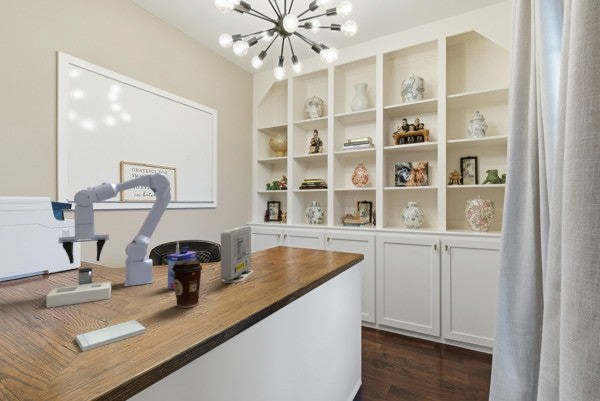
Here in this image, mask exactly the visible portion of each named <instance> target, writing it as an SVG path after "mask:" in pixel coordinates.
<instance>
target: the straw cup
mask: <svg viewBox="0 0 600 401" xmlns="http://www.w3.org/2000/svg"><path fill="white" fill-rule="evenodd" d="M189 249H190V246H185V247H182V248H181V250H179V253H176V252H175V253H172V254H168V255H167V288H168V289H171V290H172V289H173V290H175V287H174V271H173V270H171V269H172V268H173V266H174V264H175V263H176V262H178V261H186V260H190V261H197V260H198V258H197V257H198V253H197V252H196V251H189Z"/></svg>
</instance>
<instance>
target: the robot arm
mask: <svg viewBox="0 0 600 401" xmlns="http://www.w3.org/2000/svg"><path fill="white" fill-rule="evenodd" d="M136 187H145V188H147V187H148V188H149V189H150V190H152V192H153V194H154V196H155V198H156V200H155V201H154V203H153V205H152V206H151V209H150V210H149V212H148V214H147V215H146V218H145V219H144V221H143V223H142V225H141V227H140V228H139V231H138V233H137V234H136V235H135V236H134V238H133V239H132V241H131V242H129V243H128V244H127V245H126V247H125V254H126V256H127V258H126V259H125V280H124V286H123V287H131V286H140V285H146V284H152V283H154V282H153V280H154V272H153V259H152V258H147V253H148V247H149V245H150V242H151V240H150V239H151V238H152V236H153V234H154V232H155V231H156V229H157V226H158V224H159V223H160V221H161V218H162V217H163V215H164V213H165V211H166V209H167V207H168V206H169V203H170V201H171V199H172V196H171V195H172V194H171V182H170V179H169V178H168V177H167V175H166V174H165V173H163V172H156V173H154V174H152V173H150V174H145V175H141V176H138V177H134V178H131V179H127V180H125V181H122V182H118V183H116V184H115V183H113V182H106V181H103V182H101V184H100V185H96V186H93V187H91V186H89V187H87V188H86V189H81V190H79V191H77V192H76V193H75V194H74V196H73V201H74V203H75V205H74V210H75V211H73V212H74V236H65V237H64V236H63V237H58V244H59V245H60V244H62V245H61V246H62V248H63V250H64V251H65V254H66V255H67V256H68V260H69V264H73V263H75V262H74V259H75V258H74V243H84V242H96V262H99V261H100V257H101V254H102V251H103V248H104V246H105V244H106V241H109V240H110V234H95V210H94V203H101V202H103V201H107V200H110V199H113V198H116V197H117V195H118V194H119V193H120V192H123V191H126V190H130V189H134V188H136Z"/></svg>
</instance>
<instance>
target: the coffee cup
mask: <svg viewBox="0 0 600 401" xmlns="http://www.w3.org/2000/svg"><path fill="white" fill-rule="evenodd" d="M171 270H173V271H174V287H175V289H174V294H175V300H176V306H177V307H179V308H184V309H187V308H194V307H196V306H198V305H199V303H200V301H199V299H200V292H201V291H200V288H201V276H202V275H201V274H202V270H203V266H202V265H201V263H200V261H190V260H186V261H178V262H176V263H175V264H174V266H173V268H172V269H171Z"/></svg>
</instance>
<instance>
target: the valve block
mask: <svg viewBox="0 0 600 401" xmlns="http://www.w3.org/2000/svg"><path fill="white" fill-rule="evenodd" d="M111 293H112V281H111V280H110V281H101V282H92V283H91V284H83V285H79V284H77V285H69V286H61V287H53V288H52V289H51V291H50V292H49V293H48V294H47V295H46V309H47V308H54V307H61V306H68V305H74V304H82V303H90V302H96V301H101V300H109V299H111V298H110V297H111V295H112V294H111Z"/></svg>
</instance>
